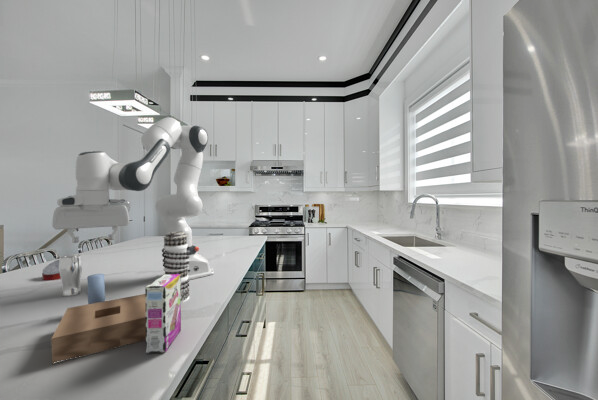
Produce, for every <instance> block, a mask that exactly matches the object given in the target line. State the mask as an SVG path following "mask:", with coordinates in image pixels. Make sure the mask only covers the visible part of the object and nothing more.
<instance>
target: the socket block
mask: <svg viewBox="0 0 598 400" xmlns="http://www.w3.org/2000/svg"><path fill="white" fill-rule="evenodd" d="M143 341H146V302H145V293H142V294H138V295H137V294H136V295H132V296H127V297H122V298H115V299H110V300H105V301H104V302H98V303H93V304H88V303H87V304H82V305H78V306H72V307H68V308H66V310H65V312H64V314H63V316H62V318H61V320H60V321H59V324H58V325H57V328H56V329H55V331H54V333H53V335H52V336H51V362H52V363H54V362H57V361H61V360H66V359H70V358H75V357H78V358H80V357H79V356H82V357H85V356H84V355H86V356H89V355H88V354H90V355H93V354H92V353H94V354H97V353H101V352H104V350H105V351H108V350H107V349H109V350H111V348H113V349H115V347H116V348H119V346H120V347H123V346H122V345H124V346H127V345H126V344H128V345H131V343H132V344H135V343H138V342H143ZM100 351H101V352H100ZM96 352H97V353H96ZM75 359H76V358H75Z"/></svg>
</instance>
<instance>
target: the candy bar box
mask: <svg viewBox="0 0 598 400" xmlns="http://www.w3.org/2000/svg"><path fill="white" fill-rule="evenodd" d="M180 275H181V274H166V275H165V274H163V275H161V276H160V277H159V278H156V279H155V280H154V281H152V282H150V284H148V285H147V286H145V287H144V289H145V290H144V291H145V293H144V294H145V302H146V340H145V353H146V354H158V353H159V354H161V353H162V354H163V353H166V352H167V351H168V350H169V348H170V346H171V345H172V343H174V341H175V339H176V338H177V336H178V335H179V334H180V333H181V331H182V313H181V309H182V306H181V304H182V303H181V282H180V281H181V276H180Z"/></svg>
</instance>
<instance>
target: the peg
mask: <svg viewBox="0 0 598 400" xmlns="http://www.w3.org/2000/svg"><path fill="white" fill-rule="evenodd" d="M86 278H87V279H86V281H87V304H93V303H98V302H104V301H106V295H105V294H106V292H105V291H106V288H105V274H104V273H95V274H91V275H88V276H87V277H86Z"/></svg>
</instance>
